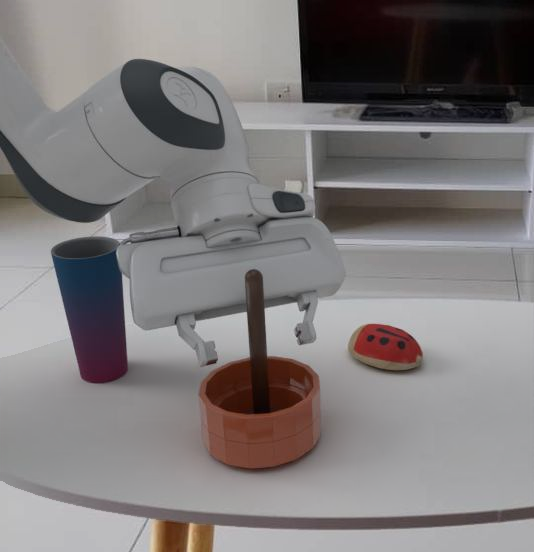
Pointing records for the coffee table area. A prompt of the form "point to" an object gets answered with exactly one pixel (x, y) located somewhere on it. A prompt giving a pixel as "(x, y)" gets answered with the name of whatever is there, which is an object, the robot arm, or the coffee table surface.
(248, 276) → the brown rod
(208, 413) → the bowl
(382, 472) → the coffee table surface
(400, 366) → the ladybug figurine
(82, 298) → the cup
